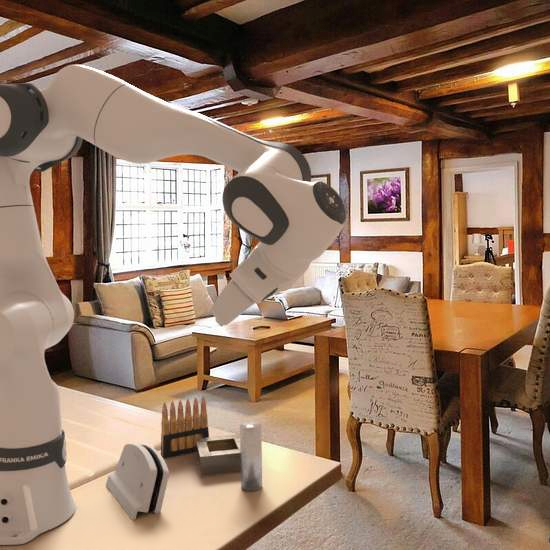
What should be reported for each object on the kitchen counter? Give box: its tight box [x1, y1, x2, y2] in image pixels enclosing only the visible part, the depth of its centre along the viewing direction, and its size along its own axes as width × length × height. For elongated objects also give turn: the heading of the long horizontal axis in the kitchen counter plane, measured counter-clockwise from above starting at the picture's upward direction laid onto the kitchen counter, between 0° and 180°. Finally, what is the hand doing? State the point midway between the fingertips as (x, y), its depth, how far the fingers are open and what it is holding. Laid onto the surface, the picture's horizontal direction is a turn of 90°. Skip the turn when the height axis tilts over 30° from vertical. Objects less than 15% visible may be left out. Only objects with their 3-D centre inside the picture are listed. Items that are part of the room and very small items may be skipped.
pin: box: [239, 421, 263, 493], centre depth 108 cm, size 4×4×12 cm
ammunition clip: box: [160, 396, 210, 460], centre depth 125 cm, size 11×2×12 cm, turn 117°
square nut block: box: [195, 434, 241, 477], centre depth 120 cm, size 10×10×4 cm
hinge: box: [105, 443, 170, 520], centre depth 106 cm, size 17×5×10 cm, turn 32°
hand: (235, 310), depth 102 cm, fingers open, 8 cm apart
